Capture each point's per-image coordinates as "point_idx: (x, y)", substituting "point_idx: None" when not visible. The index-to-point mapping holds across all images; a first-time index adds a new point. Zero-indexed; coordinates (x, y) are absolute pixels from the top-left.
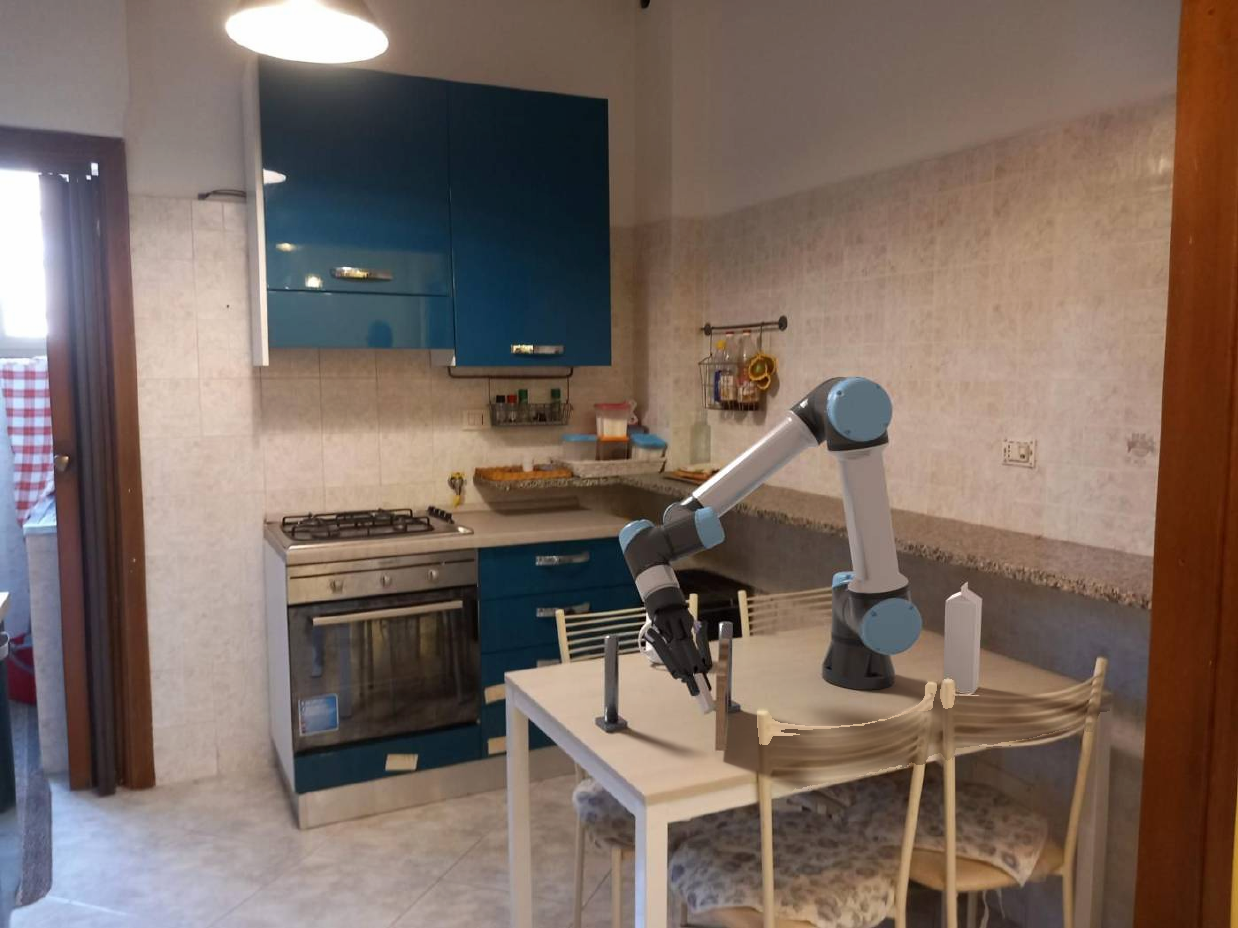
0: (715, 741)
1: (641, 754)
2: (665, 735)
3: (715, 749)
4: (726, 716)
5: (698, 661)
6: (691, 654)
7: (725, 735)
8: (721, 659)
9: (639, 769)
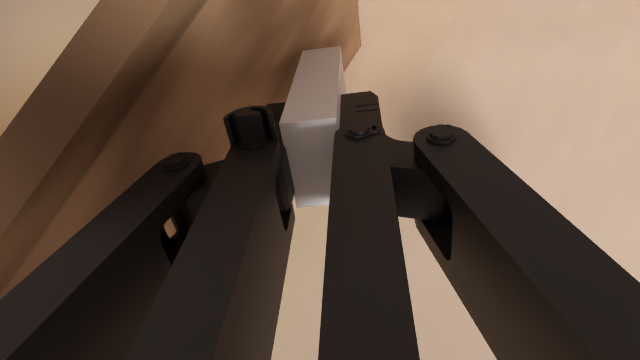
0: (359, 30)
1: (573, 166)
2: (426, 282)
3: (360, 43)
4: None
5: (248, 181)
6: (257, 259)
7: None
8: (103, 59)
9: (620, 66)
